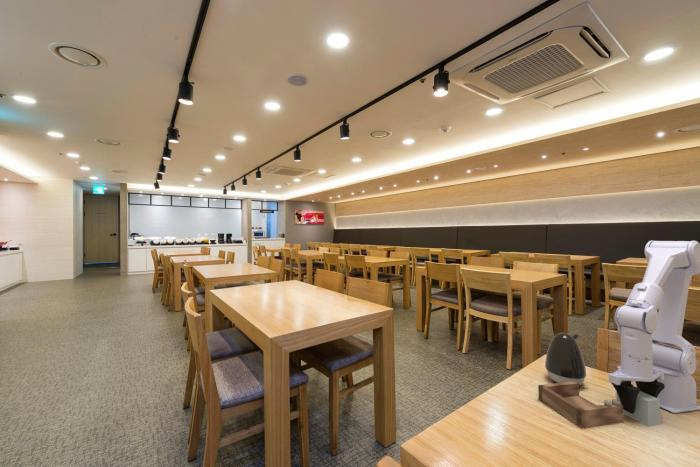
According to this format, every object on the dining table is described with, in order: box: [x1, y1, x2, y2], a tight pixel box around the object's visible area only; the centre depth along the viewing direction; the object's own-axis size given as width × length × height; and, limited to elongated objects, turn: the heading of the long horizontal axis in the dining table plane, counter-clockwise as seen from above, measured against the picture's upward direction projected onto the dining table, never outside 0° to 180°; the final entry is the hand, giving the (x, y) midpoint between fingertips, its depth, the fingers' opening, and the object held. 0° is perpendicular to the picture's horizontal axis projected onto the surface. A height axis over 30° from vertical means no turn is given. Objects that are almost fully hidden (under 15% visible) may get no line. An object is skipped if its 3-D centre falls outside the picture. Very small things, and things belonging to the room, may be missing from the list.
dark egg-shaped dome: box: [544, 332, 587, 386], centre depth 91 cm, size 10×10×15 cm
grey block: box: [615, 391, 661, 427], centre depth 74 cm, size 4×7×6 cm, turn 11°
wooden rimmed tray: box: [537, 381, 624, 429], centre depth 76 cm, size 12×12×5 cm
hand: (637, 410), depth 74 cm, fingers open, 5 cm apart
